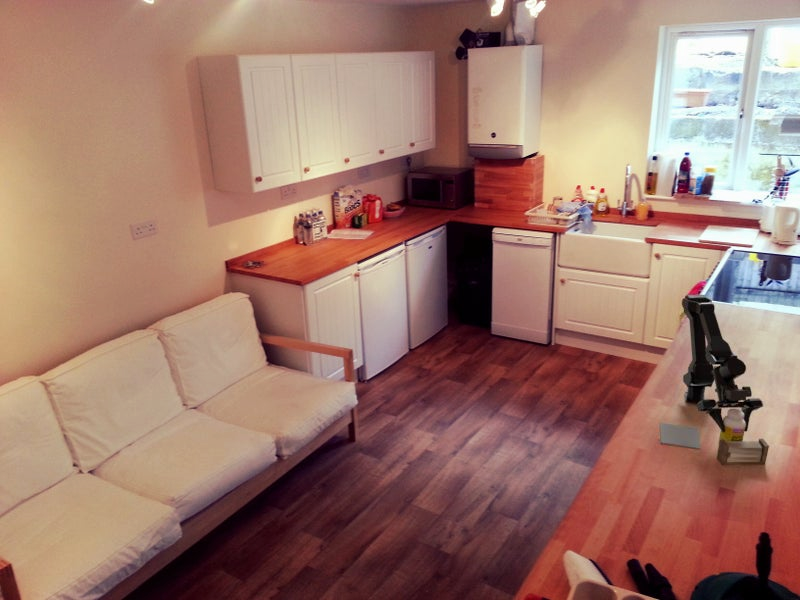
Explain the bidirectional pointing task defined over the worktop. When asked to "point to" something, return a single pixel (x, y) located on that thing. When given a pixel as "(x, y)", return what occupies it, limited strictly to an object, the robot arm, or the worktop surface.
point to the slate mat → (679, 435)
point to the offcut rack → (742, 452)
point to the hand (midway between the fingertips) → (734, 431)
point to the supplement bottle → (733, 426)
